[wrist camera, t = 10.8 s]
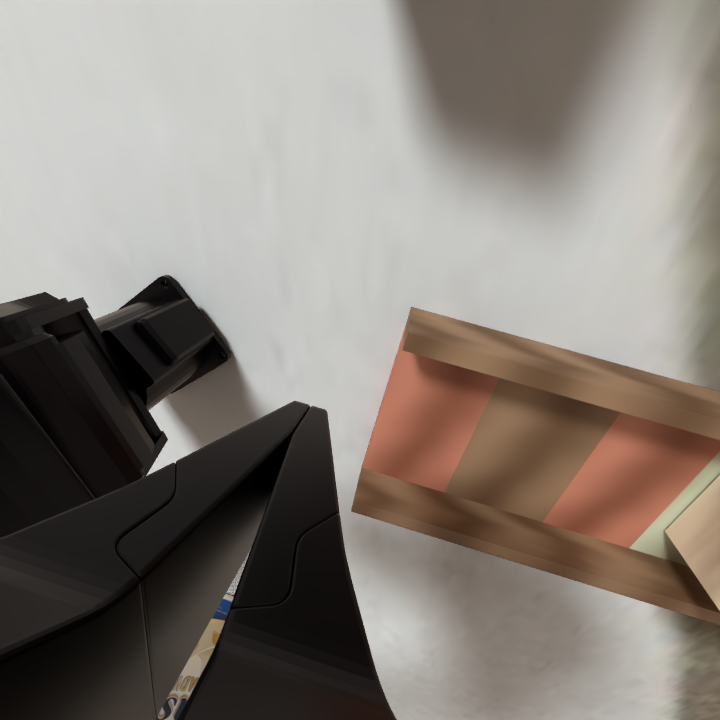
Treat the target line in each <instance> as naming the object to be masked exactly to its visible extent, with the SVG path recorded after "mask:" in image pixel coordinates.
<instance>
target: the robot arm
mask: <svg viewBox="0 0 720 720" xmlns="http://www.w3.org/2000/svg"><path fill="white" fill-rule="evenodd" d="M165 281H166V282H167V283H168V286H167V285H166V284H165ZM87 308H89V307H88V305H87V303H86V302H85V300H84V298H83V297H82V298H79V299H75V300H72V301H69V302H68V301H67V299H66V298H63V299H60V300H59V299H57V298H55V297H53V296H52V295H50V294H48V293H46V292H44V293H40V294H36V295H33V296H29V297H26V298H22V299H18V300H14V301H11V302H6V303H2V304H0V720H155V719H156V716H157V715H158V714H159V712H160V710H161V709H162V707H163V705H164V703H165V701H166V700H167V698H168V696H169V694H170V692H171V691H172V689H173V687H174V685H175V683H176V682H177V680H178V678H179V676H180V674H181V673H182V671H183V669H184V667H185V665H186V664H187V662H188V660H189V658H190V657H191V655H192V653H193V651H194V649H195V648H196V646H197V644H198V642H199V640H200V639H201V637H202V635H203V633H204V631H205V630H206V628H207V626H208V624H209V622H210V621H211V619H212V617H213V615H214V613H215V612H216V610H217V608H218V606H219V604H220V603H221V601H222V599H223V597H224V595H225V594H226V592H227V590H228V588H229V586H230V585H231V583H232V581H233V579H234V578H235V576H236V574H237V572H238V570H239V569H240V567H241V565H242V563H243V561H244V560H245V558H246V556H247V554H248V552H249V551H250V553H249V556H248V559H247V562H246V564H245V567H244V570H243V573H242V575H241V578H240V581H239V584H238V586H237V589H236V592H235V595H234V598H233V600H232V603H231V606H230V611H229V612H228V614H227V617H226V620H225V623H224V625H223V628H222V630H221V633H220V635H219V638H218V640H217V643H216V645H215V647H214V650H213V652H212V654H211V656H210V658H209V660H208V662H207V664H206V666H205V668H204V670H203V672H202V674H201V675H200V677H199V679H198V681H197V683H196V685H195V687H194V689H193V691H192V693H191V695H190V697H189V698H188V700H187V702H186V704H185V706H184V708H183V710H182V712H181V714H180V716H179V718H178V720H397V719H396V718H395V716H394V714H393V712H392V710H391V708H390V706H389V704H388V702H387V699H386V697H385V694H384V692H383V689H382V687H381V684H380V681H379V678H378V675H377V672H376V669H375V665H374V662H373V658H372V655H371V651H370V648H369V644H368V640H367V636H366V633H365V629H364V625H363V621H362V618H361V614H360V610H359V606H358V603H357V599H356V595H355V591H354V588H353V584H352V580H351V576H350V571H349V567H348V563H347V558H346V554H345V547H344V541H343V535H342V528H341V520H340V515H339V505H338V497H337V489H336V481H335V472H334V464H333V456H332V448H331V439H330V431H329V423H328V415H327V411H326V410H325V409H321V408H318V407H315V406H312V407H310V406H309V405H308V404H305V403H301V402H298V401H293V402H291V403H289V404H287V405H285V406H283V407H281V408H279V409H277V410H275V411H273V412H271V413H269V414H268V415H266V416H264V417H262V418H260V419H258V420H256V421H254V422H252V423H250V424H248V425H246V426H244V427H242V428H240V429H238V430H236V431H234V432H232V433H230V434H228V435H226V436H224V437H223V438H221V439H219V440H217V441H215V442H213V443H211V444H209V445H207V446H205V447H203V448H201V449H199V450H197V451H195V452H193V453H191V454H189V455H187V456H185V457H183V458H181V459H179V460H178V461H176V464H175V463H171V464H169V465H167V466H165V467H163V468H162V469H160V470H158V471H156V472H154V473H151V474H149V475H147V473H148V472H149V470H150V468H151V467H152V465H153V463H154V462H155V460H156V458H157V457H158V455H159V453H160V452H161V450H162V448H163V447H164V445H165V443H166V442H167V440H168V438H167V437H166V435H165V433H164V432H163V431H160V429H159V427H158V426H157V424H156V422H155V421H154V419H153V417H152V416H151V414H150V412H149V410H150V409H151V408H152V407H154V406H155V405H156V404H157V403H159V402H160V401H161V400H162V399H164V398H165V397H166V396H167V395H169V394H170V393H174V392H176V391H177V390H179V389H181V388H182V387H184V386H186V385H187V384H189V383H191V382H193V381H194V380H196V379H198V378H199V377H201V376H203V375H204V374H206V373H208V372H210V371H211V370H213V369H215V368H216V367H218V366H220V365H221V364H223V363H225V362H226V361H227V360H229V359H230V358H231V352H230V350H229V349H228V348H227V346H226V345H225V344H224V343H223V341H222V340H221V339H220V337H219V336H218V335H217V334H216V332H215V331H214V330H213V328H212V327H211V326H210V325H209V323H208V322H207V321H206V319H205V318H204V317H203V316H202V314H201V313H200V312H199V310H198V309H197V308H196V307H195V305H194V304H193V303H192V301H191V300H190V299H189V298H188V296H187V295H186V294H185V292H184V291H183V290H182V289H181V287H180V286H179V285H178V284H177V282H176V281H175V280H174V279H173V278H172V277H171V276H169V275H164V276H161V277H159V278H158V279H156V280H155V281H154V282H153V283H151V284H150V285H149V286H148V287H146V288H145V289H144V290H143V291H141V292H140V293H139V294H137V295H136V296H135V297H134V298H132V299H131V300H130V301H129V302H127V303H126V304H125V305H124V306H122V307H121V308H120V309H119V310H117V311H115V312H113V313H110V314H108V315H105V316H102V317H100V318H97V319H95V320H94V319H93V318H92V316H91V314H90V313H89V311H88V309H87ZM221 353H223V354H224V355H225V357H224V356H222V355H221ZM146 475H147V476H146ZM251 547H252V548H251ZM250 549H251V550H250Z"/></svg>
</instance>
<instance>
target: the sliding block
mask: <svg viewBox="0 0 720 720" xmlns="http://www.w3.org/2000/svg"><path fill="white" fill-rule="evenodd" d="M665 532H666V534H667V535H668V536H669V538H670V539H671V541H672V542H673V544H674V545H675V547H676V548H677V549H678V551H679V552H680V554H681V555H682V557H683V558H684V560H685V561H686V563H687V564H688V565H689V567H690V568H691V570H692V571H693V573H694V574H695V576H696V577H697V579H698V580H699V581H700V583H701V584H702V586H703V587H704V589H705V590H706V592H707V593H708V595H709V596H710V597H711V599H712V600H713V602H714V603H715V605H716V606H717V608H718V609H719V611H720V475H719V476H718V477H717V478H716V479H715V480H714V481H713V482H712V483H711V484H710V485H709V486H708V487H707V488H706V489H705V491H704V492H703V493H702V494H701V495H700V496H699V497H698V498H697V499H696V500H695V501H694V502H693V503H692V504H691V505H690V506H689V507H688V508H687V509H686V510H685V511H684V512H683V513H682V514H681V515H680V516H679V517H678V518H677V519H676V520H675V521H674V522H673V523H672V524H671V525H670V526H669V527H668V528H667V529H666V530H665Z"/></svg>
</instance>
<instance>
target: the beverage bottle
mask: <svg viewBox="0 0 720 720" xmlns="http://www.w3.org/2000/svg"><path fill="white" fill-rule="evenodd" d="M233 598H234V596H231V595H228V594H225V595H224V597H223V599H222V601H221V603H220V604H219V606H218V608H217V610H216V612H215V613H214V615H213V617H212V619H211V621H210V622H209V624H208V626H207V628H206V630H205V631H204V633H203V635H202V637H201V639H200V640H199V642H198V644H197V646H196V648H195V649H194V651H193V653H192V655H191V657H190V658H189V660H188V662H187V664H186V665H185V667H184V669H183V671H182V673H181V674H180V676H179V678H178V680H177V682H176V683H175V685H174V687H173V689H172V691H171V692H170V694H169V696H168V698H167V700H166V701H165V703H164V705H163V707H162V709H161V710H160V712H159V714H158V715H157V716H156V719H155V720H178V718H179V716H180V714H181V712H182V710H183V708H184V706H185V704H186V702H187V700H188V698H189V697H190V695H191V693H192V691H193V689H194V687H195V685H196V683H197V681H198V679H199V677H200V675H201V674H202V672H203V670H204V668H205V666H206V664H207V662H208V660H209V658H210V656H211V654H212V652H213V650H214V647H215V645H216V643H217V640H218V638H219V635H220V633H221V630H222V628H223V625H224V623H225V620H226V617H227V614H228V612H229V611H230V606H231V603H232V600H233Z"/></svg>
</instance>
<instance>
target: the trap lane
mask: <svg viewBox="0 0 720 720" xmlns="http://www.w3.org/2000/svg"><path fill="white" fill-rule="evenodd" d="M719 475H720V392H718V391H714V390H710V389H707V388H703V387H699V386H696V385H692V384H689V383H685V382H681V381H678V380H674V379H670V378H667V377H663V376H660V375H656V374H652V373H649V372H645V371H641V370H638V369H634V368H631V367H627V366H623V365H620V364H616V363H612V362H609V361H605V360H602V359H598V358H594V357H591V356H587V355H583V354H580V353H576V352H573V351H569V350H565V349H562V348H558V347H554V346H551V345H547V344H544V343H540V342H536V341H533V340H529V339H525V338H522V337H518V336H515V335H511V334H507V333H504V332H500V331H496V330H493V329H489V328H486V327H482V326H478V325H475V324H471V323H467V322H464V321H460V320H457V319H453V318H449V317H446V316H442V315H438V314H435V313H431V312H428V311H424V310H420V309H417V308H413V307H411V310H410V313H409V317H408V320H407V323H406V326H405V329H404V333H403V336H402V339H401V342H400V346H399V349H398V352H397V355H396V358H395V362H394V365H393V368H392V371H391V374H390V378H389V381H388V384H387V387H386V391H385V394H384V397H383V400H382V403H381V407H380V410H379V413H378V416H377V419H376V423H375V426H374V429H373V432H372V436H371V439H370V442H369V445H368V448H367V452H366V455H365V458H364V461H363V465H362V468H361V472H360V476H359V480H358V485H357V489H356V493H355V497H354V501H353V506H352V510H351V511H352V512H355V513H358V514H361V515H365V516H368V517H371V518H374V519H378V520H381V521H384V522H387V523H391V524H394V525H397V526H400V527H404V528H407V529H410V530H413V531H416V532H420V533H423V534H426V535H429V536H433V537H436V538H439V539H442V540H446V541H449V542H452V543H455V544H459V545H462V546H465V547H468V548H472V549H475V550H478V551H481V552H485V553H488V554H491V555H494V556H497V557H501V558H504V559H507V560H510V561H514V562H517V563H520V564H523V565H527V566H530V567H533V568H536V569H540V570H543V571H546V572H549V573H553V574H556V575H559V576H562V577H565V578H569V579H572V580H575V581H578V582H582V583H585V584H588V585H591V586H595V587H598V588H601V589H604V590H608V591H611V592H614V593H617V594H621V595H624V596H627V597H630V598H633V599H637V600H640V601H643V602H646V603H650V604H653V605H656V606H659V607H663V608H666V609H669V610H672V611H676V612H679V613H682V614H685V615H689V616H692V617H695V618H698V619H701V620H705V621H708V622H711V623H714V624H718V625H720V611H719V609H718V608H717V606H716V605H715V603H714V602H713V600H712V599H711V597H710V596H709V595H708V593H707V592H706V590H705V589H704V587H703V586H702V584H701V583H700V581H699V580H698V579H697V577H696V576H695V574H694V573H693V571H692V570H691V568H690V567H689V565H688V564H687V563H686V561H685V560H684V558H683V557H682V555H681V554H680V552H679V551H678V549H677V548H676V547H675V545H674V544H673V542H672V541H671V539H670V538H669V536H668V535H667V534H666V532H665V530H666V529H667V528H668V527H669V526H670V525H671V524H672V523H673V522H674V521H675V520H676V519H677V518H678V517H679V516H680V515H681V514H682V513H683V512H684V511H685V510H686V509H687V508H688V507H689V506H690V505H691V504H692V503H693V502H694V501H695V500H696V499H697V498H698V497H699V496H700V495H701V494H702V493H703V492H704V491H705V489H706V488H707V487H708V486H709V485H710V484H711V483H712V482H713V481H714V480H715V479H716V478H717V477H718V476H719Z"/></svg>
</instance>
